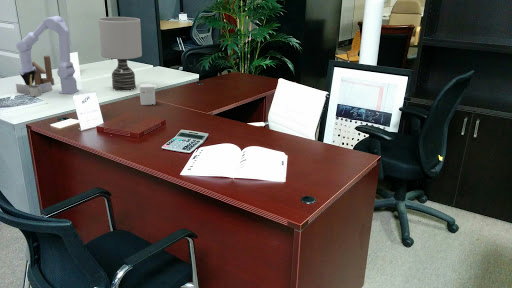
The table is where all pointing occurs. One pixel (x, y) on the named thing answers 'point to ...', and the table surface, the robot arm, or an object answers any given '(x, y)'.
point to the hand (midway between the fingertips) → (29, 84)
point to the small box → (147, 94)
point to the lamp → (121, 47)
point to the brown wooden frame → (43, 72)
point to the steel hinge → (34, 89)
